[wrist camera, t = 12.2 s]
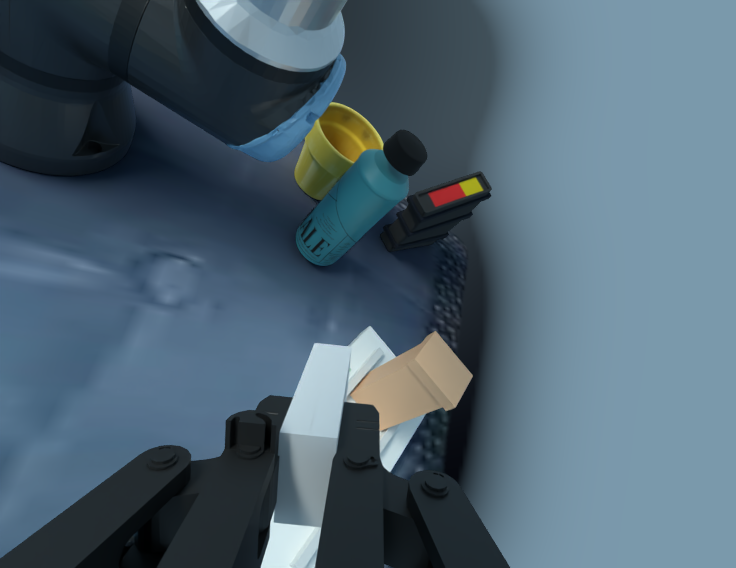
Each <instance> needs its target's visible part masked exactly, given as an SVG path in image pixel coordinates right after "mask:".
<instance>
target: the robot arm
mask: <svg viewBox="0 0 736 568" xmlns="http://www.w3.org/2000/svg"><path fill="white" fill-rule="evenodd" d="M346 1H347V0H0V161H2V162H5V163H7V164H10V165H12V166H15V167H18V168H22V169H25V170H29V171H33V172H38V173H44V174H51V175H67V176H68V175H83V174H90V173H94V172H98V171H101V170H104V169H106V168H109V167H111V166H112V165H114V164H116V163H117V162H118V161H120V160H121V159H122V158H123V157H124V156H125V154H126V153H127V151H128V150H129V148H130V145H131V142H132V139H133V135H134V132H135V127H136V114H135V108H134V102H133V96H132V91H131V85H132V86H134V87H135V88H137V89H139V90H140V91H142V92H143V93H145V94H147V95H148V96H150V97H151V98H153V99H155V100H156V101H158V102H159V103H161V104H163V105H164V106H166V107H167V108H169V109H171V110H172V111H174V112H176V113H177V114H179V115H180V116H182V117H184V118H185V119H187V120H188V121H190V122H192V123H193V124H195V125H196V126H198V127H200V128H201V129H203V130H204V131H206V132H208V133H209V134H211V135H212V136H214V137H216V138H217V139H219V140H221V141H222V142H224V143H225V144H226V145H227V146H229V147H230V148H232V149H236V150H240V151H242V152H244V153H246V154H248V155H249V156H251V157H253V158H255V159H257V160H259V161H263V162H273V161H276V160H279V159H281V158H283V157H284V156H286V155H287V154H288V153H290V152H291V151H292V150H293V149H294V148H295V147H296V146H297V145H298V144H299V143H300V142H301V141H302V140H303V139H304V138H305V137H306V136H307V134H308V133H309V132H310V131H311V129H312V128H313V126H314V124H315V121H316V120H317V119H319V118H320V117H321V116H322V114H323V113H324V112H325V111H326V109H327V108H328V106H329V104H330V103H331V101H332V100H333V98H334V96H335V94H336V92H337V91H338V89H339V86H340V85H341V82H342V80H343V77H344V74H345V70H346V62H345V60H344V58H343V56H342V55H341V54H340V51H341V49H342V46H343V42H344V32H345V30H344V23H343V18H342V14H341V9H342V8H343V6H344V4H345V3H346ZM351 349H352V347H348V346H339V345H329V344H319V343H315V344H314V346H313V349H312V351H311V354H310V356H309V359H308V361H307V364H306V366H305V369H304V372H303V374H302V377H301V379H300V382H299V384H298V387H297V389H296V392H295V394H294V397H293V398H292V397H282V396H272V395H270V396H268V397H267V398H265V399H264V400H262V401H261V402H260V403H259V404H258V406H257V408H256V410H247V411H242V412H238V413H236V414H234V415H231V416H230V417H229V418H228V419H227V420H226V433H225V449H224V451H223V453H222V455H221V456H219V457H216V458H212V459H206V460H197V461H191V454H190V453H189V451H188V450H187V449H185V448H183V447H180V446H173V445H166V446H165V445H164V446H159V447H155V448H152V449H149V450H147V451H145V452H143V453H142V454H140V455H139V456H137V457H136V458H135V459H133V460H132V461H131V462H129V463H128V464H127V465H125V466H124V467H123V468H121V469H120V470H118V471H117V472H116V473H114V474H113V475H112V476H110V477H109V478H108V479H106V480H105V481H104V482H102V483H101V484H100V485H98V486H97V487H96V488H94V489H93V490H92V491H90V492H89V493H88V494H86V495H85V496H84V497H82V498H81V499H80V500H78V501H77V502H76V503H74V504H73V505H72V506H70V507H69V508H68V509H66V510H65V511H64V512H62V513H61V514H59V515H58V516H57V517H55V518H54V519H53V520H51V521H50V522H49V523H47V524H46V525H45V526H43V527H42V528H41V529H39V530H38V531H37V532H35V533H34V534H33V535H31V536H30V537H29V538H27V539H26V540H25V541H23V542H22V543H21V544H19V545H18V546H17V547H15V548H14V549H13V550H11V551H10V552H9V553H7V554H6V555H5V556H3V557H2V558H0V568H261V565H262V561H263V558H264V555H265V551H266V548H267V545H268V541H269V538H270V522H271V519H272V515H273V512H274V523H282V524H291V525H301V526H311V527H321V533H320V539H319V545H318V551H317V557H316V563H315V568H384V564H386V565H389V566H391V567H394V568H510V567H509V565H508V564H507V562H506V560H505V559H504V557H503V555H502V553H501V552H500V550H499V549H498V547H497V545H496V544H495V542H494V541H493V539H492V537H491V536H490V534H489V532H488V531H487V529H486V528H485V526H484V524H483V523H482V521H481V519H480V518H479V516H478V515H477V513H476V511H475V510H474V508H473V506H472V505H471V503H470V501H469V500H468V498H467V497H466V495H465V493H464V492H463V490H462V488H461V487H460V485H459V484H458V483H457V482H456V481H455V480H454V479H453V478H451V477H450V476H448V475H446V474H444V473H441V472H438V471H431V470H424V471H419V472H417V473H415V474H414V475H412V476H411V478H410V480H409V481H408V480H405V479H402V478H400V477H397V476H395V475H393V474H392V473H390V472H389V471H387V470H386V469H385V468H384V467H383V465H382V462H381V459H380V431H379V430H380V424H379V412H378V411H377V409H376V408H375V407H374V405H370V404H361V403H351V402H346V399H347V389H348V379H349V369H350V359H351Z"/></svg>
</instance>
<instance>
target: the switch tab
mask: <svg viewBox="0 0 736 568" xmlns="http://www.w3.org/2000/svg"><path fill="white" fill-rule="evenodd" d="M472 377H473V375H472V374H471V373H470V372H469V371H468V369H467V368H466V367H465V366H464V365H463V364H462V362H461V361H460V360H459V358H458V357H457V356H456V355H455V354H454V352H453V351H452V350H451V349H450V348H449V346H448V345H447V344H446V343H445V342H444V340H443V339H442V338H441V337H440V336H439V334H438V333H437V332H436V331H435V332H433V333H431V334H429V335H428V336H427V337H426V338H425V339H424V341H423V342H422V343H421V344H419V345H417V346H416V347H414V348H412V349H410V350H408V351H406V352H405V353H403V354H401V355H399V356H397V357H396V358H394V359H392V360H390V361H388V362H386V363H385V364H383V365H381V366H379V367H377V368H375V369H374V370H372V371H370V372H369V373H368V374H367V375H366V376H365V378H364V379H363V380H362V381H361V382H360V383H359V385H358V386H357V387H356V388H355V389H354V391H353V392H352V393H351V394H350V396H351V397H352V398H353V399H354V400H355V401H356V403H361V404H370V405H374V407H375V408H376V409H377V411H378V412H379V424H380V431H381V430H384V429H387V428H389V427H392V426H395V425H397V424H400V423H403V422H405V421H408V420H410V419H413V418H416V417H418V416H421V415H424V414H426V413H429V412H432V411H434V410H437V409H440V408H442V407H443V408H444V409H445V411H448V410H450V409H453V408H455V407H456V406H457V404H458V402H459V400H460V399H461V396H462V394H463V393H464V391H465V389H466V388H467V386H468V384H469V382H470V380H471V379H472Z"/></svg>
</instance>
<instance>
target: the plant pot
mask: <svg viewBox="0 0 736 568" xmlns="http://www.w3.org/2000/svg"><path fill="white" fill-rule="evenodd" d="M383 145H384V144H383V142H382V140H381V138H380V136H379V134H378V133H377V131H376V130H375V129H374V127H373V126H372V125H371V124H370V123H369V122H368V121H367V120H366V119H365V118H364V117H363V116H362V115H360V114H359V113H358V112H356V111H354V110H353V109H351V108H349V107H347V106H344V105H342V104H338V103H330V104H329V106H328V108H327V109H326V111H325V112H324V113H323V114H322V116H321V117H320V118H319V119H317V120H316V121H315V124H314V126H313V128H312V129H311V131H310V132H309V133H308V134H307V136H306V137H305V143H304V146H303V149H302V152H301V154H300V157H299V160H298V162H297V165H296V168H295V173H294V174H295V179H296V182H297V184H298V185H299V187H300V188H301V189H302V190H303V191H304V192H305V193H306V194H308V195H309V196H310V197H312V198H314V199H317V200H320V199H321V198H322V197H323V198H324V197H325V196H326V194H328V192H329V191H328V190H331V189H332V187H333V184H334V183H335V184H336V182H337V181H338V180H340V176H341V175H342V174H343V173H346V171H347V170H348V169H349V168H350V167H351V166H352V165H353V164H354V163H355V161H356V160H357V159H358V158H359V156H360V154H361V153H362V152H364V151H365V150H368V149H379V150H383ZM352 163H353V164H352ZM343 175H344V174H343ZM341 177H342V176H341ZM338 178H339V179H338ZM330 188H331V189H330ZM327 191H328V192H327ZM323 198H322V199H323ZM322 199H321V201H322Z"/></svg>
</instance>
